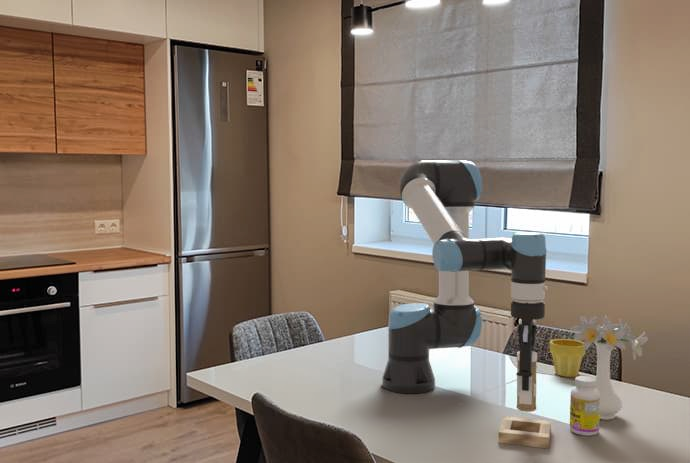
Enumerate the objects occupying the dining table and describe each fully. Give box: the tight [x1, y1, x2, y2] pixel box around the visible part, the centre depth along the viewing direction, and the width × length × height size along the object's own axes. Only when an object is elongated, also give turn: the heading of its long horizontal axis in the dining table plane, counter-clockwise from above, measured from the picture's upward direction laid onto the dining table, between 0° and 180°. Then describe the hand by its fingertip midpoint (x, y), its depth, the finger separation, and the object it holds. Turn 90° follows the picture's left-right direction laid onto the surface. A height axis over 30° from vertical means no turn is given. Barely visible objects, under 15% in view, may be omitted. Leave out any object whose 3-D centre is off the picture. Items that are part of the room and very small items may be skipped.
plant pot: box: [549, 338, 586, 378], centre depth 215 cm, size 10×10×10 cm
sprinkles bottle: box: [516, 350, 538, 413], centre depth 163 cm, size 5×5×14 cm
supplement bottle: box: [569, 375, 600, 437], centre depth 167 cm, size 7×7×13 cm
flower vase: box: [569, 315, 649, 421], centre depth 178 cm, size 13×18×25 cm
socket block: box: [498, 415, 552, 449], centre depth 164 cm, size 11×11×2 cm
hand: (526, 399), depth 164 cm, fingers closed on sprinkles bottle, 4 cm apart
